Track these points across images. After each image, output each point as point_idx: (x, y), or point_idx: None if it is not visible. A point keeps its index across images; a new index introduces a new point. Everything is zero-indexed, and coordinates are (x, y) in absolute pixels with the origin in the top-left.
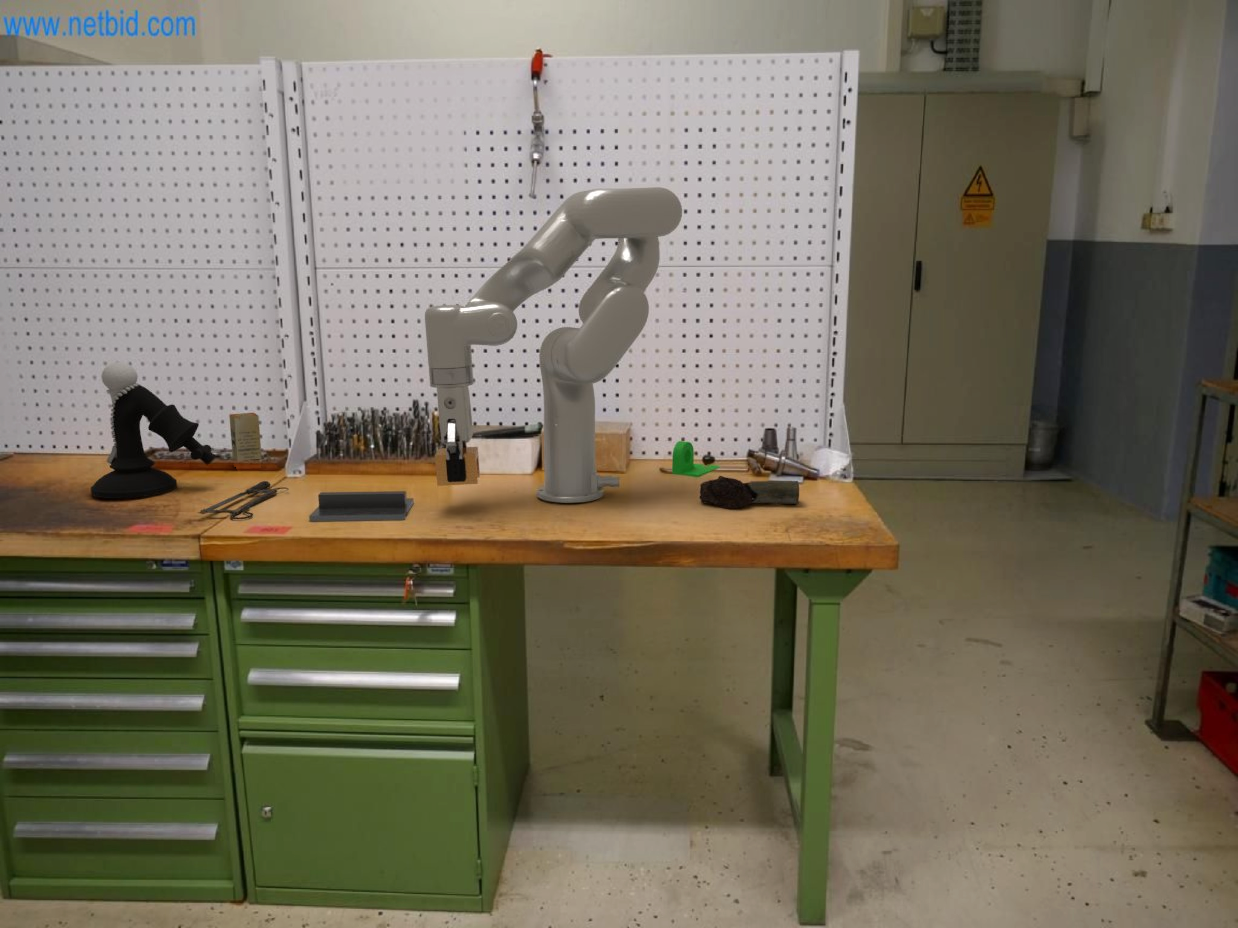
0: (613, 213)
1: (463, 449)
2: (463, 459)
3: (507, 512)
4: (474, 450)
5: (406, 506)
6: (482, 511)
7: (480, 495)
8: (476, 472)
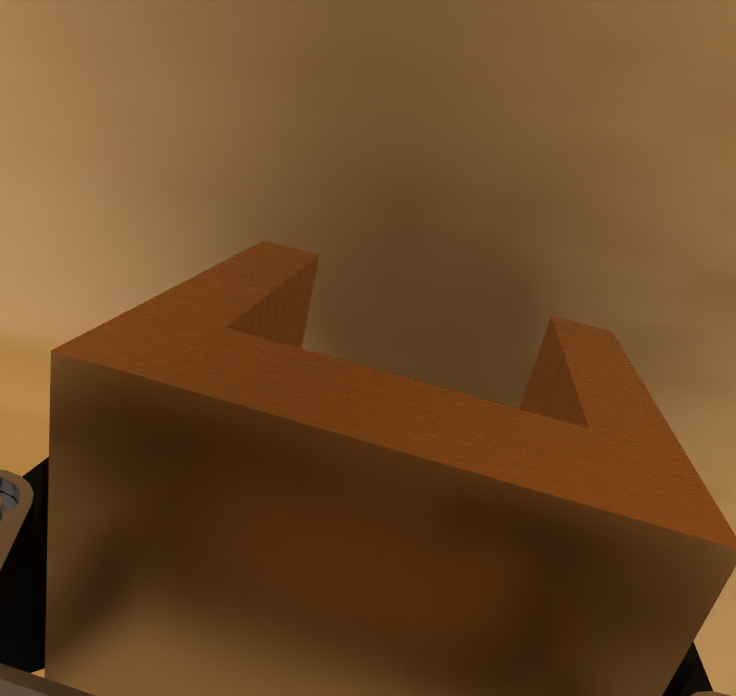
0: None
1: (237, 623)
2: (684, 668)
3: (605, 39)
4: (421, 493)
5: None
6: (501, 228)
7: (43, 160)
8: (639, 382)
